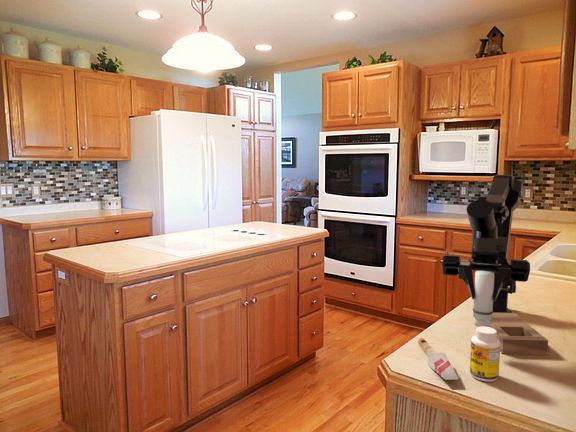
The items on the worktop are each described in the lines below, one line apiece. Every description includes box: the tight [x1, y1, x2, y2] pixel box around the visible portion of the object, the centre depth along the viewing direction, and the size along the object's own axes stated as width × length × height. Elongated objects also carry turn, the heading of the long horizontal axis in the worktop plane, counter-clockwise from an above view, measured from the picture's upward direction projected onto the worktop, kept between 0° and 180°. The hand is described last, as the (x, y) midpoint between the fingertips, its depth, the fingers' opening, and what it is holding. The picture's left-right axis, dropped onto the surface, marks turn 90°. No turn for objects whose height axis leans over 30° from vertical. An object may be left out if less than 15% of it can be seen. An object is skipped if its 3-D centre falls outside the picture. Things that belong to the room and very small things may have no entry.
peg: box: [472, 271, 494, 328], centre depth 100 cm, size 4×4×12 cm
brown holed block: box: [490, 312, 549, 356], centre depth 109 cm, size 18×10×4 cm, turn 175°
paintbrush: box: [417, 337, 460, 381], centre depth 97 cm, size 4×3×20 cm
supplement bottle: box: [469, 326, 501, 383], centre depth 90 cm, size 6×6×10 cm
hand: (483, 299), depth 98 cm, fingers closed on peg, 4 cm apart
